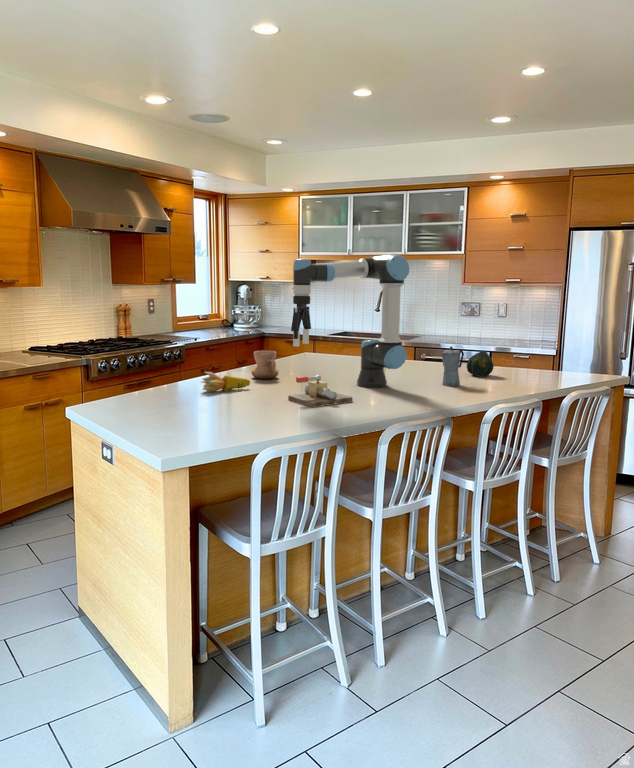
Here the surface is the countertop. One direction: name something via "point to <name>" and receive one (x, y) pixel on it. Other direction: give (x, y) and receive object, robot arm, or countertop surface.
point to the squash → (480, 364)
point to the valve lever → (308, 378)
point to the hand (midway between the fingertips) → (301, 345)
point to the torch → (223, 382)
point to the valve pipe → (319, 390)
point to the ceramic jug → (265, 365)
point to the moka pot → (451, 366)
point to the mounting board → (318, 399)
